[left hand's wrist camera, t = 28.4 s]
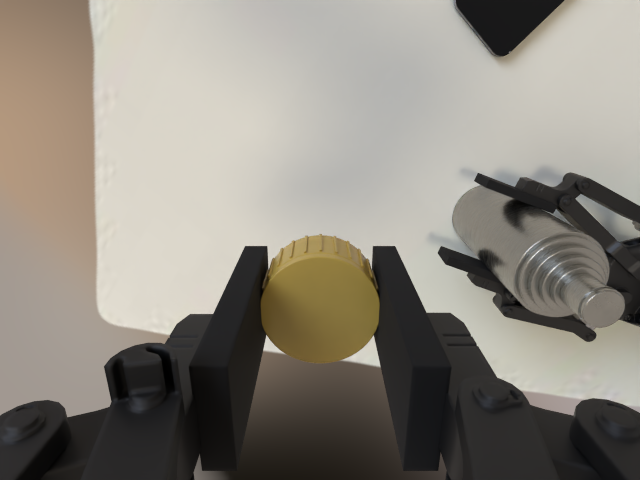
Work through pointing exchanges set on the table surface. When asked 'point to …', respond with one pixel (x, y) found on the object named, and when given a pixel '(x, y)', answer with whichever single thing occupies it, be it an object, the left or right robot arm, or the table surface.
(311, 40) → the table surface
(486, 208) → the bottle
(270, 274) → the cap
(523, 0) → the smartphone
